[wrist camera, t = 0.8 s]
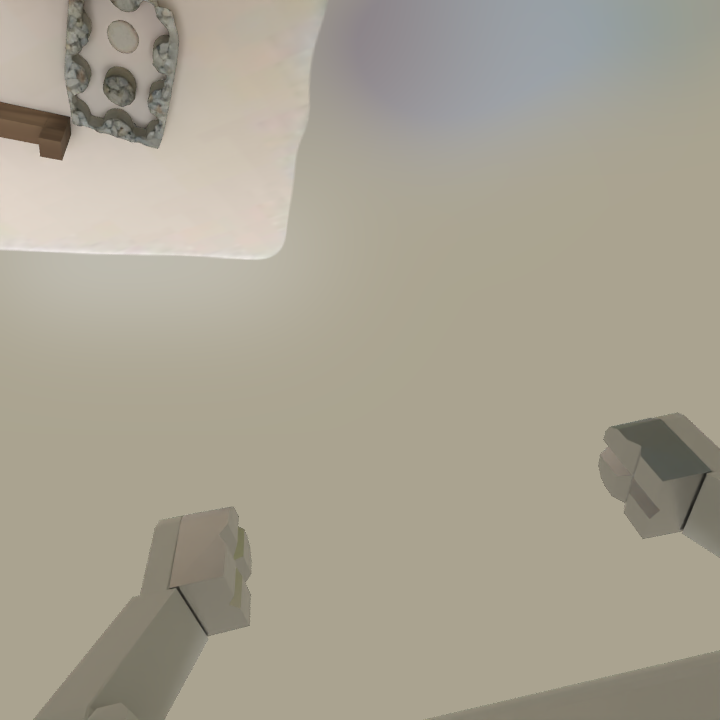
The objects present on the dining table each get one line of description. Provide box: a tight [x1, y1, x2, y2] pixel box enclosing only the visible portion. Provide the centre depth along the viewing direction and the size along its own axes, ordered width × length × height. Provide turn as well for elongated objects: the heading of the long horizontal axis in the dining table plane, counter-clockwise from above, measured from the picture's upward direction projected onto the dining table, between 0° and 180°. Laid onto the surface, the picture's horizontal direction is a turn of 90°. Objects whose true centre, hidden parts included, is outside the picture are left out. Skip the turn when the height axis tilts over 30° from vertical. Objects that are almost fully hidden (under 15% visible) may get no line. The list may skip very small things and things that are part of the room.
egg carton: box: [65, 0, 179, 149], centre depth 39 cm, size 11×8×4 cm
